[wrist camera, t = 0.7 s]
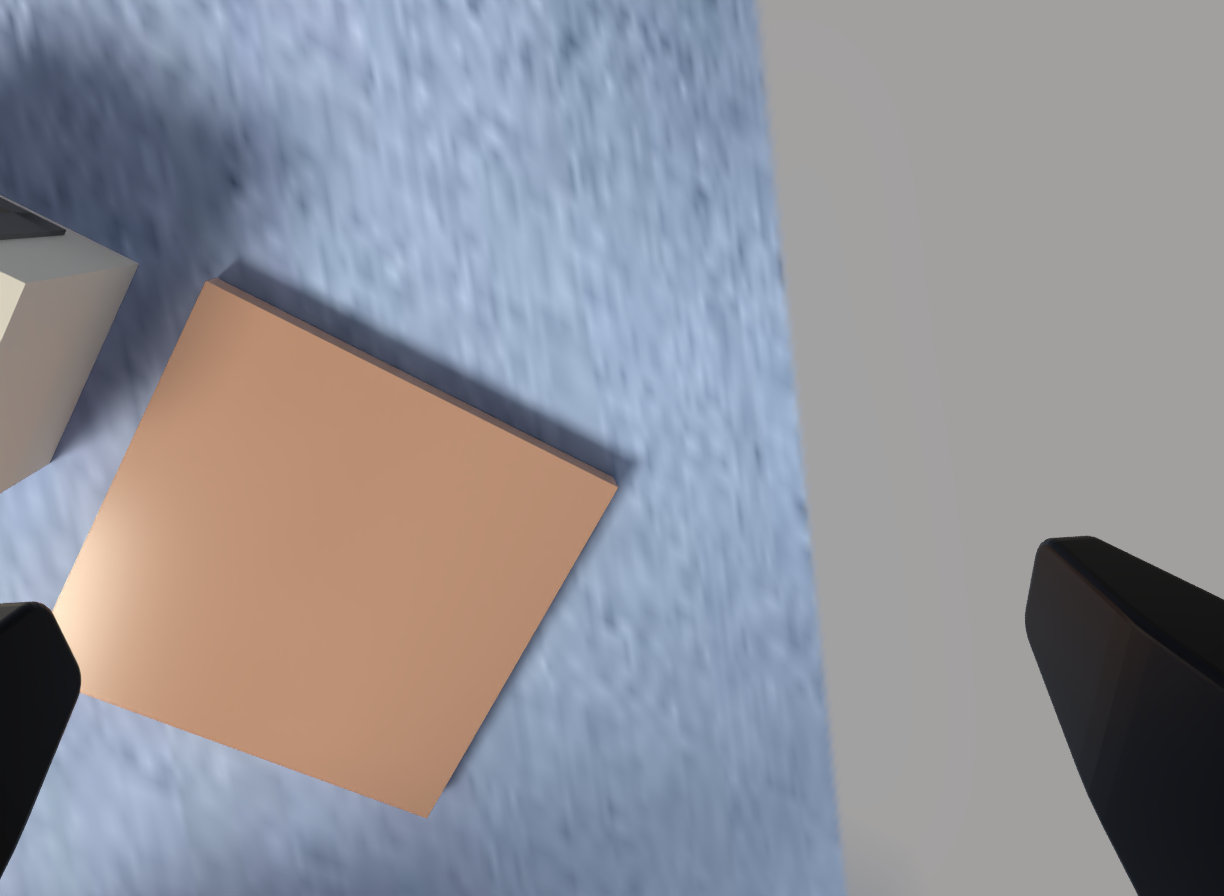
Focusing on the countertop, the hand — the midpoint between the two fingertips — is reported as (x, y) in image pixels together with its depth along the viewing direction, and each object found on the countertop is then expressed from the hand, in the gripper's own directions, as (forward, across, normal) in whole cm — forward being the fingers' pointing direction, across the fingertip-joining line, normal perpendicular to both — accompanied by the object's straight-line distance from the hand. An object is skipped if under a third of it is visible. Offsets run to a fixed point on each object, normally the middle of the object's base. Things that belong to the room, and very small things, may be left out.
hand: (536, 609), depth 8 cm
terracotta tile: (+11, +7, +7) cm, 14 cm away
